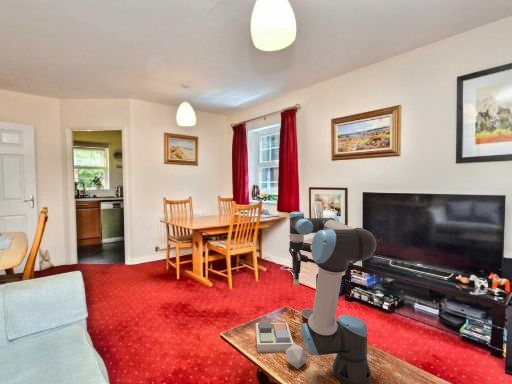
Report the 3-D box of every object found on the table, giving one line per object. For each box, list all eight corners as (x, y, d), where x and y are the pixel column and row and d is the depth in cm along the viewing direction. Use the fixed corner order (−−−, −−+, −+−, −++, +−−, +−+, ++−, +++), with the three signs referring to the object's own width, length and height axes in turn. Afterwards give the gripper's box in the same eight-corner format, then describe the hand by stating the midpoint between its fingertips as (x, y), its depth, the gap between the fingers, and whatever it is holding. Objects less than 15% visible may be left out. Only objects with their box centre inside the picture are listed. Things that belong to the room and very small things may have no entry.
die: (310, 368, 123) (306, 342, 129) (303, 367, 116) (299, 340, 122) (292, 370, 126) (289, 344, 132) (284, 370, 119) (281, 343, 125)
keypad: (293, 352, 133) (293, 343, 133) (257, 352, 132) (257, 344, 132) (287, 329, 153) (287, 322, 153) (255, 330, 152) (255, 323, 152)
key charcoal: (271, 332, 144) (271, 327, 144) (259, 333, 143) (259, 328, 143) (270, 325, 151) (270, 321, 151) (259, 325, 150) (259, 321, 150)
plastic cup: (319, 343, 141) (319, 319, 140) (298, 338, 145) (298, 315, 144) (323, 332, 150) (323, 310, 150) (303, 328, 155) (303, 306, 154)
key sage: (273, 346, 135) (273, 340, 135) (260, 346, 134) (260, 341, 134) (272, 338, 142) (272, 333, 142) (260, 338, 141) (260, 333, 141)
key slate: (289, 342, 135) (289, 337, 135) (276, 342, 135) (276, 337, 135) (287, 334, 142) (287, 329, 142) (275, 334, 142) (275, 329, 142)
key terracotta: (286, 335, 144) (286, 330, 144) (274, 335, 144) (274, 330, 144) (284, 328, 151) (284, 323, 151) (273, 328, 151) (273, 323, 151)
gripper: (287, 238, 157) (287, 280, 158) (292, 243, 144) (291, 289, 145) (300, 238, 158) (300, 280, 159) (306, 243, 145) (306, 289, 146)
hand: (296, 284), depth 152 cm, fingers closed
